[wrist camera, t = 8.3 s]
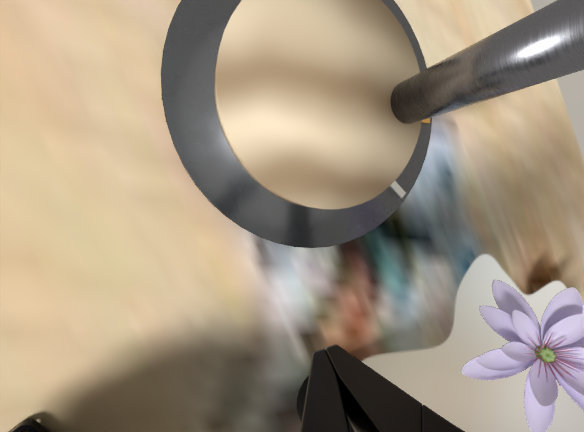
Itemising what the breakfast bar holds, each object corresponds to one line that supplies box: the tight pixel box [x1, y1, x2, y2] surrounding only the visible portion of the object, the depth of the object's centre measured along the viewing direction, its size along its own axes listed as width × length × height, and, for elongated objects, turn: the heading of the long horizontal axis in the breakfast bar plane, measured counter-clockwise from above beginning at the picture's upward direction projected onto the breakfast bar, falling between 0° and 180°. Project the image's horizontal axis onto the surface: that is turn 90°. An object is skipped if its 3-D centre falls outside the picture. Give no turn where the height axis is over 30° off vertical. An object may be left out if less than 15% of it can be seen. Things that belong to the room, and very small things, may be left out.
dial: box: [214, 0, 584, 209], centre depth 14 cm, size 15×15×12 cm
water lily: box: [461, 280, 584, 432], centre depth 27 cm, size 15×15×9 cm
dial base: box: [161, 0, 432, 248], centre depth 20 cm, size 21×21×1 cm
